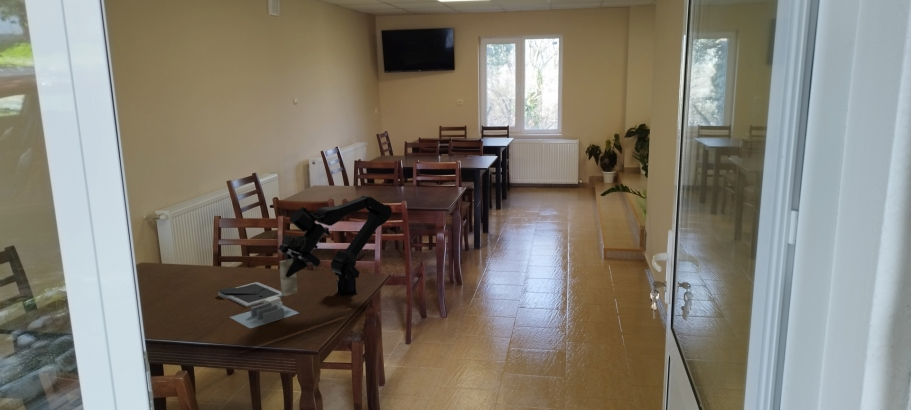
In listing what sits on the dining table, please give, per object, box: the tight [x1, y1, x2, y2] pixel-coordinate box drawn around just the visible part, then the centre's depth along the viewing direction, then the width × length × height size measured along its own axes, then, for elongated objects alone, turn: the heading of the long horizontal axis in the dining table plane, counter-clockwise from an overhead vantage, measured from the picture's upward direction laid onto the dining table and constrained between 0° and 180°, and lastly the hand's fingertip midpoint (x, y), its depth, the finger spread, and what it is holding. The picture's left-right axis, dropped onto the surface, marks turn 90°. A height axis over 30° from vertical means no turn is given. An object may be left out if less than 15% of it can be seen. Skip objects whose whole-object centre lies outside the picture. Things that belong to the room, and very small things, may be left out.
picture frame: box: [217, 281, 284, 308], centre depth 223 cm, size 16×3×21 cm
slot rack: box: [229, 302, 299, 329], centre depth 203 cm, size 18×14×4 cm
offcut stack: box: [262, 296, 284, 307], centre depth 210 cm, size 5×4×3 cm
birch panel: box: [279, 259, 298, 297], centre depth 208 cm, size 5×2×12 cm, turn 136°
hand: (284, 276), depth 207 cm, fingers closed on birch panel, 2 cm apart
